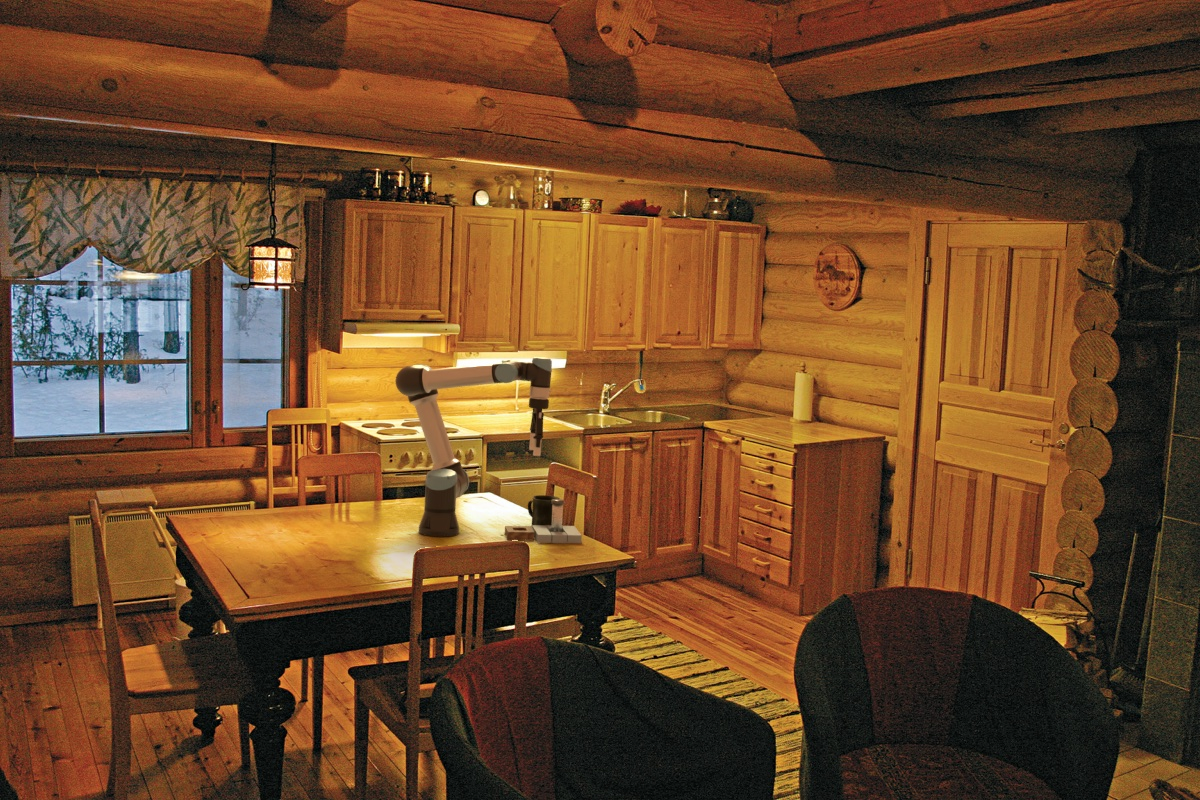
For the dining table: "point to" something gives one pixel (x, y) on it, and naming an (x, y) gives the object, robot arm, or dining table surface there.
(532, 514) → the mug
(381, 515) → the dining table surface
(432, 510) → the robot arm
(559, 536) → the socket
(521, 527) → the mount
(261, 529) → the dining table surface
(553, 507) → the pin
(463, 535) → the dining table surface
